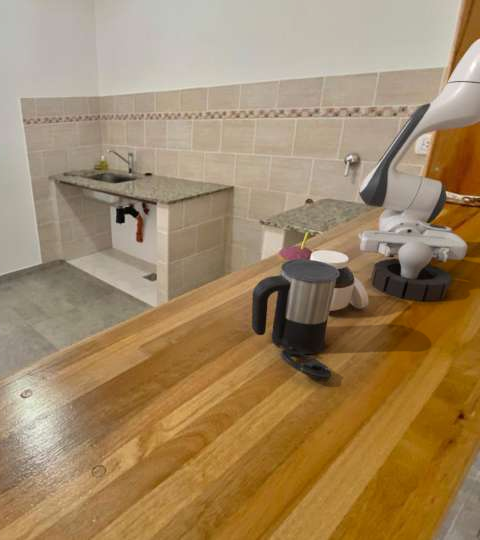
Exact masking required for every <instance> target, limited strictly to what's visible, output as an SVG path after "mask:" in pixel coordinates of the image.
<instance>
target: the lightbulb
mask: <svg viewBox="0 0 480 540" xmlns="http://www.w3.org/2000/svg"><path fill="white" fill-rule="evenodd" d="M398 259H399V262H400V264H401V277H405V278H408V279H416V278H417V277H418V274H419V273H420V271H421V270H422V269H423V268H424V267H425V266H426V265H427V264H430V262H431V261H432V259H433V258H432V250H431V248H430V247H429V246H428V245H427V244H425V243H423V242H419V241H412V242H408V243H406V244H404V245H403V246H402V247H401V248H400V249H399V251H398V255H397V260H398Z"/></svg>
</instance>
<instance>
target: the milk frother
mask: <svg viewBox="0 0 480 540" xmlns="http://www.w3.org/2000/svg"><path fill="white" fill-rule="evenodd" d="M280 269H281V271H282V273H281V275H273V276H267V277H265V278H263V279H261V280H260V281H259V282H258V283H256V285H255V287H254V288H253V290H252V301H251V303H252V304H251V328H252V330H253V332H254V333H255V334H256V335H258V336H263V335H265V333H266V330H267V329H266V328H267V318H268V317H267V315H268V302H269V298H270V297H271V295H272V294H274V293H277V297H276V303H275V308H274V316H273V321H272V331H271V339H272V341H273V343H275V345H277V346H278V347H279V348H281V349H283V350H281V352H280V353H279V354H280V355H279V356H280V358H281V359H282V360H283V361H284V362H285V363H286V364H287V365H288V366H290V367H292V369H293V368H294V369H295V370H296V371H298V372H300V373H301V374H304V375H306V376H308V377H311V378H314V379H317V380H320V381H321V380H322V381H326V380H330V379H331V377H332V371H331V368H330V367H327V366H326V365H325V364H324V363H323V362H321V361H320V360H318V359H316V358H314V357H312V356H309V355H314V354H317V353H320V352H321V351H323V350H324V349H325V347H326V342H325V339H326V331H327V327H328V321H329V316H330V314H329V312H330V307H331V302H332V297H333V292H334V287H335V282H336V278H337V277H338V276H339V271H338V270H337V268H335V267H333V266H331V265H329V264H326V263H323V262H320V261H315V260H305V259H302V260H290V261H287V262H285V263H283V264H282V263H281V266H280ZM293 358H297V359H300V360H303V361H306V362H305V363H303V362H300V363H299V362H298V361H296V360H295V359H293Z"/></svg>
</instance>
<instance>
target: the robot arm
mask: <svg viewBox="0 0 480 540" xmlns="http://www.w3.org/2000/svg"><path fill="white" fill-rule="evenodd" d="M477 123H480V38H478V39H477V40H475V41H474V42H473V43H472V44H471V45H470V46H469V48H468V49H467V50H466V51H465V53H464V54H463V56H462V57H461V59H460V60H459V62H458V63H457V65H456V67H455V68H454V69H453V71H452V73H451V75H450V76H449V78H448V80H447V82H446V84H445V85H444V88H443V89H442V91H441V92H440V93H439V94H438V96H437V97H436V98H434V99H433V100H432V101H431V102H429V103H425V104H422V105H421V106H419V107H418V108H417V109H416V110H415V111H414V112H413V113H412V115H411V116H410V117H409V118H408V120H407V121H406V122H405V124H404V125H403V126H402V128H401V129H400V131H398V133H397V135H396V136H395V137H394V139H393V140H392V142H391V143H390V145H389V146H388V148H387V149H386V150H385V152H384V153H383V154H382V156H381V157H380V159H379V160H378V162H377V163H376V164H375V166H374V167H373V168H372V170H371V171H370V172H369V173H368V174H367V175H366V176H365V177H364V179H363V180H362V182H361V184H360V187H359V190H358V191H359V192H358V194H359V196H360V198H361V200H362V202H363V203H364V204H365V205H366V206H369V207H370V206H371V207H375V208H383V209H384V210H383V212H382V213H381V214H380V217H379V218H378V230H374V229H373V230H371V229H370V230H365V231H363V232H362V233H361V232H360V233H358V234H357V239H358V240H360V244H359V250H360V251H361V252H365V253H373V254H382V255H383V256H385V258H391V259H395V256H398V251H399V249H400V248H401V247H402V246H403V245H404V244H406V243H408V242H412V241H419V242H423V243H425V244H427V245H428V246H429V247H430V248H431V250H432V259H434V260H435V261H436V262H437V263H446V262H447V260H455V261H461V260H463V259H464V258H465V256H466V254H467V251H468V244H467V243H466V241H465V240H464V239H463V238H462V237H461V236H459V235H458V234H456V233H453V230H452V228H451V227H450V226H449V227H448V226H443V225H438V224H431V223H432V222H434V221H435V220H436V219H437V217H438V216H440V214H441V212H442V211H443V209H444V207H445V205H446V202H447V197H448V196H447V191H446V187H445V185H444V183H443V182H442V181H441V180H436V179H432V178H429V177H425V176H419V175H416V174H411V173H407V172H403V171H399V170H398V169H397V167H398V165H399V164H400V163H401V161H402V160H403V159H404V157H406V155H407V153H408V152H409V150H410V149H411V148H412V147H413V145H414V144H415V142H416V141H417V140H418V139H419V138H420V137H422V136H423V135H425V134H428V133H431V132H437V131H445V130H454V129H460V128H461V129H462V128H464V127H468V126H469V127H470V126H472V125H474V124H477Z"/></svg>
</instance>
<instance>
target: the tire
mask: <svg viewBox="0 0 480 540" xmlns="http://www.w3.org/2000/svg"><path fill="white" fill-rule="evenodd" d="M452 280H453V277H452V276H451V274H450V273H449V272H448V271H447V270H445V269H443V268H441V267H439V266H436V265H433V264H431V263H428V264H427V265H426V266H425V267H424V268H423V269H422V270H421V271H420V273H419V274H418V277H417V278H416V279H408V278H405V277H401V264H400V262H399V259H398V258H397V259H396V258H390V259H383V260H379V261H377V262H376V263H374V264H373V267H372V273H371V277H370V282H371V285H372V286H373V288H375V289H377V290H378V291H380V293H385V294H386V295H388V296H392V297H395V298H398V299H402V298H403V299H404V300H406V301H413V302H414V301H415V302H420V303H421V302H425V303H428V302H438V301H441V300H443V299H444V298H446V296H447V295H448V292H449V289H450V287H451V284H452Z"/></svg>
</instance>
